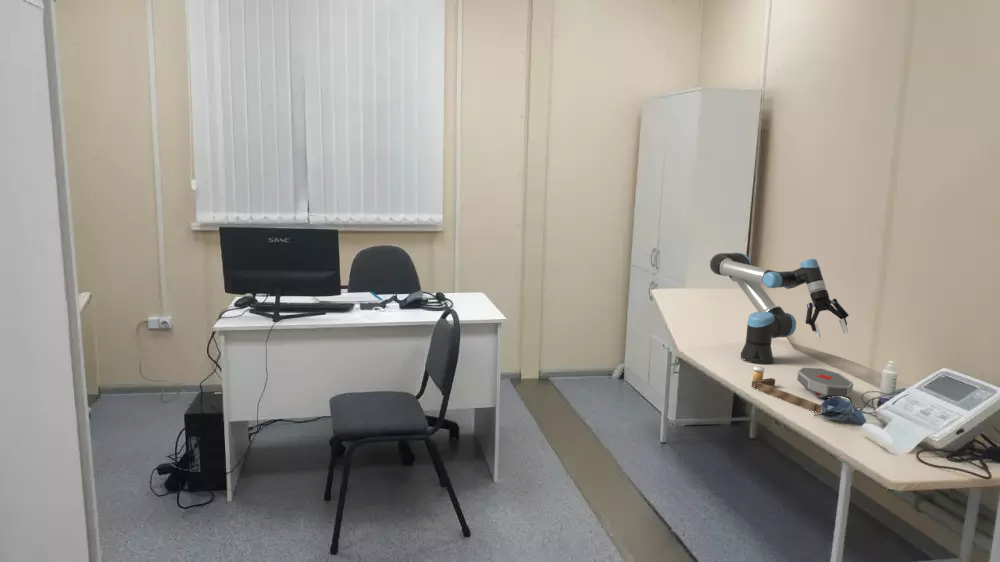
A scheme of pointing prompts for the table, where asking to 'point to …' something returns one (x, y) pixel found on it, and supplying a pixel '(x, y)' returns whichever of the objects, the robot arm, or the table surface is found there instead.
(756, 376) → the pill bottle
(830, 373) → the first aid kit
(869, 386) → the table surface
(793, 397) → the brown piece
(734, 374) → the table surface
